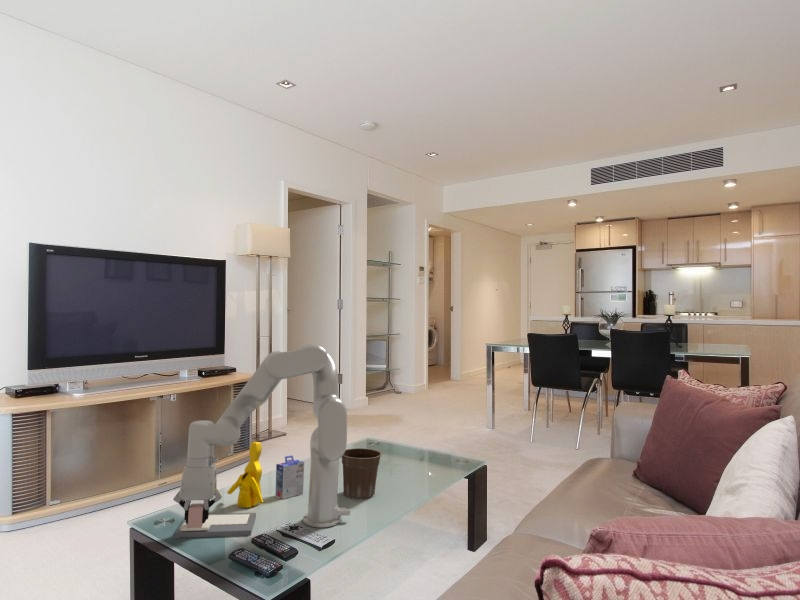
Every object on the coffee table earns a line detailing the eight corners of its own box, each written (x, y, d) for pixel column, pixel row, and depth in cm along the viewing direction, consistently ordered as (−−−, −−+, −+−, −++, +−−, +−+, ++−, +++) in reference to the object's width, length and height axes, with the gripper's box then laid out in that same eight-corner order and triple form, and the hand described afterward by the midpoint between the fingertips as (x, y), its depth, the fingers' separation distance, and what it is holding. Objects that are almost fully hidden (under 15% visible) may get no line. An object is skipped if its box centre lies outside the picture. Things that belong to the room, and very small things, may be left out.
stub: (210, 524, 153) (212, 502, 154) (208, 530, 149) (209, 507, 150) (183, 525, 152) (185, 503, 152) (180, 530, 148) (181, 508, 148)
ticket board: (255, 517, 165) (256, 512, 165) (250, 535, 151) (251, 529, 151) (186, 519, 161) (187, 514, 161) (175, 537, 147) (175, 532, 147)
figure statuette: (222, 503, 177) (226, 441, 178) (239, 497, 184) (242, 437, 185) (257, 514, 168) (261, 449, 169) (274, 507, 175) (277, 445, 176)
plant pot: (353, 485, 203) (355, 445, 204) (387, 492, 195) (389, 451, 196) (330, 496, 189) (332, 453, 190) (365, 504, 181) (367, 460, 182)
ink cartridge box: (295, 490, 194) (297, 453, 195) (303, 494, 190) (305, 456, 191) (274, 495, 187) (276, 457, 187) (282, 499, 183) (284, 460, 184)
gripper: (230, 458, 157) (226, 516, 156) (174, 458, 154) (170, 517, 153) (226, 464, 150) (222, 526, 149) (167, 465, 147) (163, 527, 146)
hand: (196, 521), depth 151 cm, fingers closed on stub, 4 cm apart
